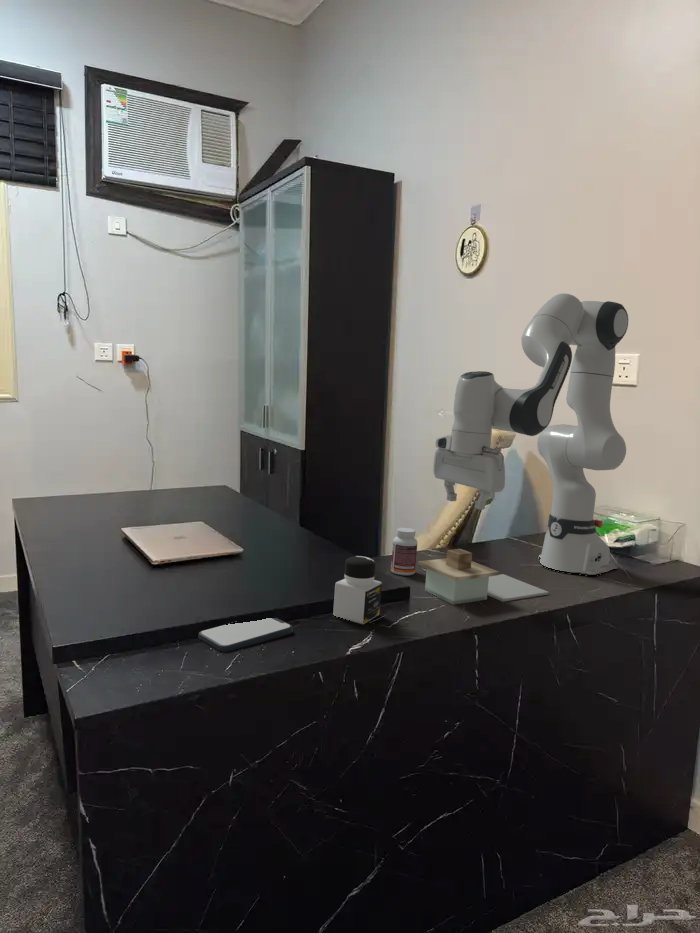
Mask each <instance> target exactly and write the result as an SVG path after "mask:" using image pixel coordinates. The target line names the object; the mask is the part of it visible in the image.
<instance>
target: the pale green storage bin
mask: <svg viewBox="0 0 700 933" xmlns="http://www.w3.org/2000/svg"><path fill="white" fill-rule="evenodd" d="M488 582H489V577H482V578H474V579H467V580H459V581H454V580H452V579H449V578H447V577H445V576H443V575H440V574H438V573H436V572H433V571H431V570H429V569H427V568H426V574H425V582H424V583H425V584H424V585H425V586H424V592H426V591H427V593H428V592H429V593H428V594H430V593H431V594H430V595H432V594H433V595H432V596H434V595H435V596H434V597H436V596H437V598H438V599H440V600H443V601H444V602H447V603H448V604H451V605H453V606H455V605H460V604H468V603H472V602H473V603H474V602H479V601H480V602H481V601H485V600H487V599H488V595H487V592H488Z"/></svg>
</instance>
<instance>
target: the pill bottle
mask: <svg viewBox="0 0 700 933" xmlns="http://www.w3.org/2000/svg"><path fill="white" fill-rule="evenodd" d="M395 535H396V536H395V537H393V540H392V549H391V562H390V564H391V565H390V571H391V572H392V573H393V574H395V575H398V576H413V575H414V574H415V573H416V565H417V564H416V563H417V554H418V553H417V552H418V541H417V539H416V530H415V529H414V528H409V527H398V528H397V529H396V534H395Z"/></svg>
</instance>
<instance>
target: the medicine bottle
mask: <svg viewBox="0 0 700 933" xmlns="http://www.w3.org/2000/svg"><path fill="white" fill-rule="evenodd" d="M375 572H376V561H375V560H374V559H372V558H370V557H367V556H361V555H355V556H354V555H353V556H350V557H348V558H346V559H345V564H344V576H343V579H340V580H338V581H336V582H335V585H334V594H333V595H334V600H333V609H332V610H333V612H332V613H333V614H332V615H334V616H336V617H335V618H338V617H340V618H339V619H341V618H343V619H342V620H345V619H346V621H349V620H350V621H349V622H353V623H357V624H360V625H364V624H366V623H368V622H370V621H372V620H373V619H374V618H377V617H378V616H379V615H380V610H381V598H382V588H383V587H382V585H383V582H382V581H380V580H376V579H375V574H376V573H375ZM334 616H333V617H334Z"/></svg>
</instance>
